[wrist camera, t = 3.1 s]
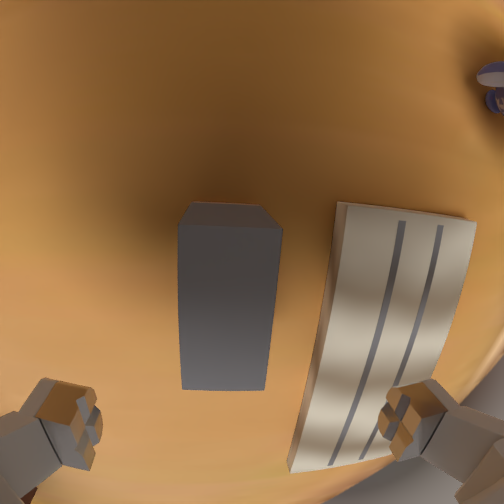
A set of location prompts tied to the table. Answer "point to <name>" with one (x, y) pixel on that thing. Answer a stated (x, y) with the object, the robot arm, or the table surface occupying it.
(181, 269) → the block
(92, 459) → the robot arm
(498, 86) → the toy
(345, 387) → the board
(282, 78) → the table surface
